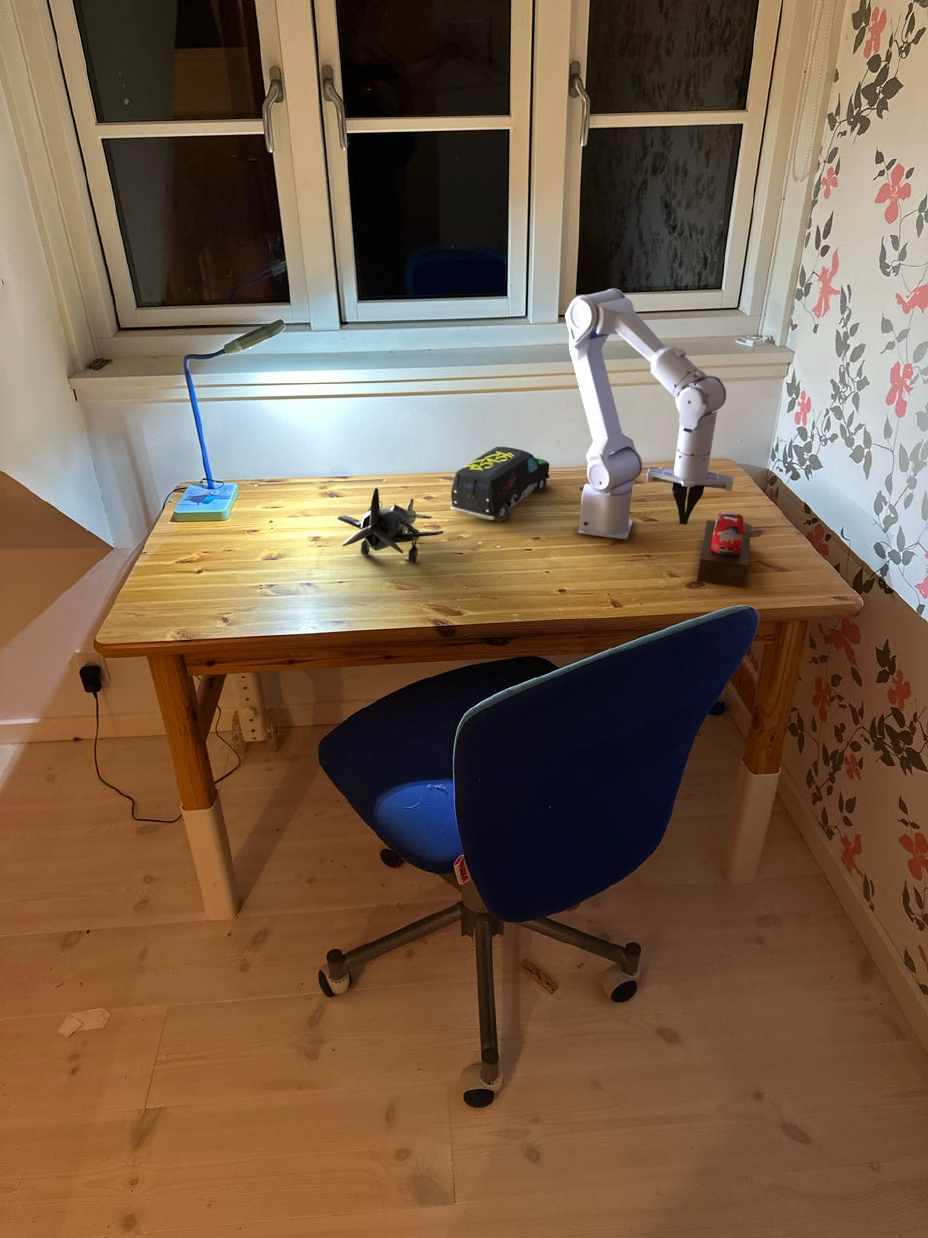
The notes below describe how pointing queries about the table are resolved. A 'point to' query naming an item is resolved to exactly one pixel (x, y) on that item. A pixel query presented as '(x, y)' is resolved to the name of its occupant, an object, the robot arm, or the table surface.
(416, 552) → the airplane toy
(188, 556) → the table surface
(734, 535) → the race car
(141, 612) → the table surface
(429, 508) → the table surface
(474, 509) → the toy van
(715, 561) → the step block
